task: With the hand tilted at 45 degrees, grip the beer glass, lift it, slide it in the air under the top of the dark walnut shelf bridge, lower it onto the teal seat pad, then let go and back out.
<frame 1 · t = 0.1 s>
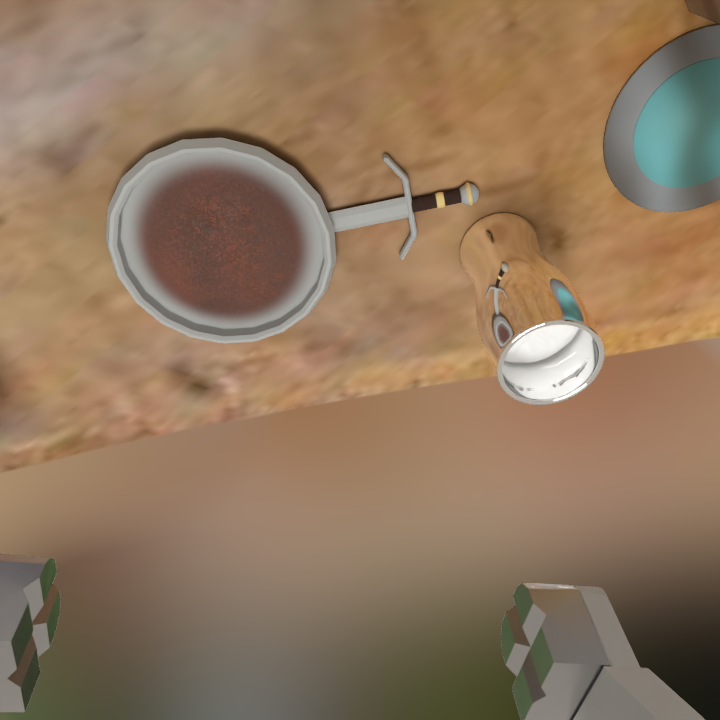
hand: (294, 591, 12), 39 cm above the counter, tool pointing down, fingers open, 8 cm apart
beer glass: (497, 246, 52), on the counter
frying pan: (294, 223, 50), on the counter
shelf bridge: (695, 125, 46), on the counter
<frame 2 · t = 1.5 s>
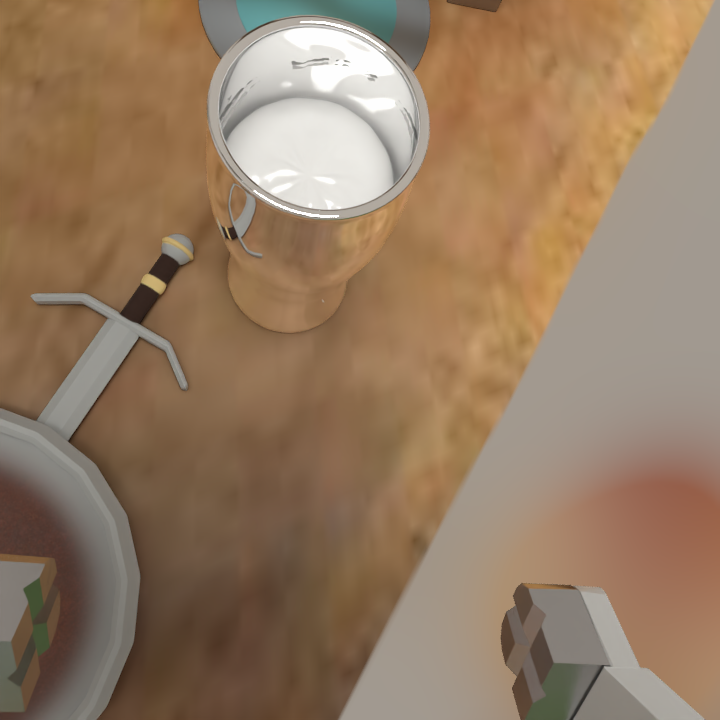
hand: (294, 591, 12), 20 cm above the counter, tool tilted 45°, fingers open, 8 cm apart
beer glass: (287, 277, 34), on the counter
frying pan: (21, 487, 30), on the counter
shelf bridge: (317, 6, 37), on the counter
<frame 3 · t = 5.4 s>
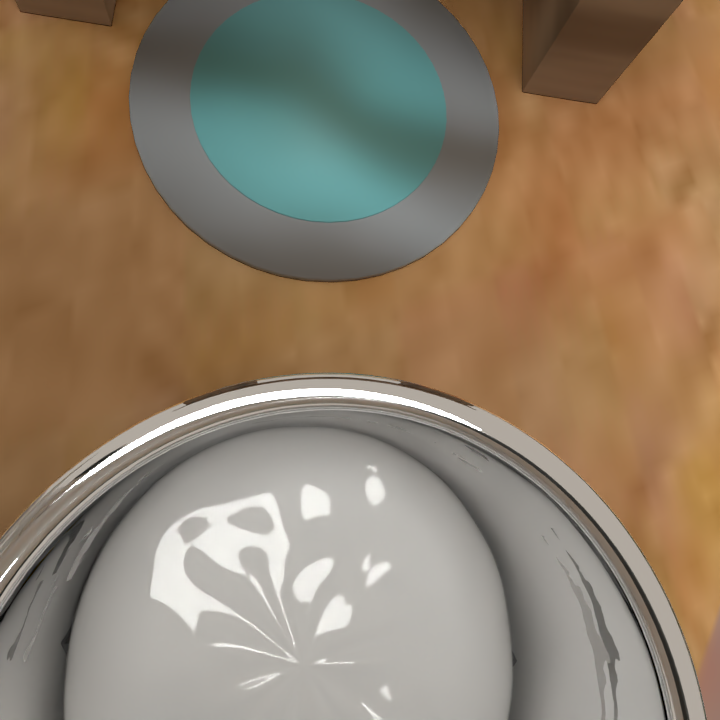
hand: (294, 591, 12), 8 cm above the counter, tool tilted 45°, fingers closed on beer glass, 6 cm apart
beer glass: (278, 578, 20), on the counter, touching gripper
shelf bridge: (321, 108, 23), on the counter
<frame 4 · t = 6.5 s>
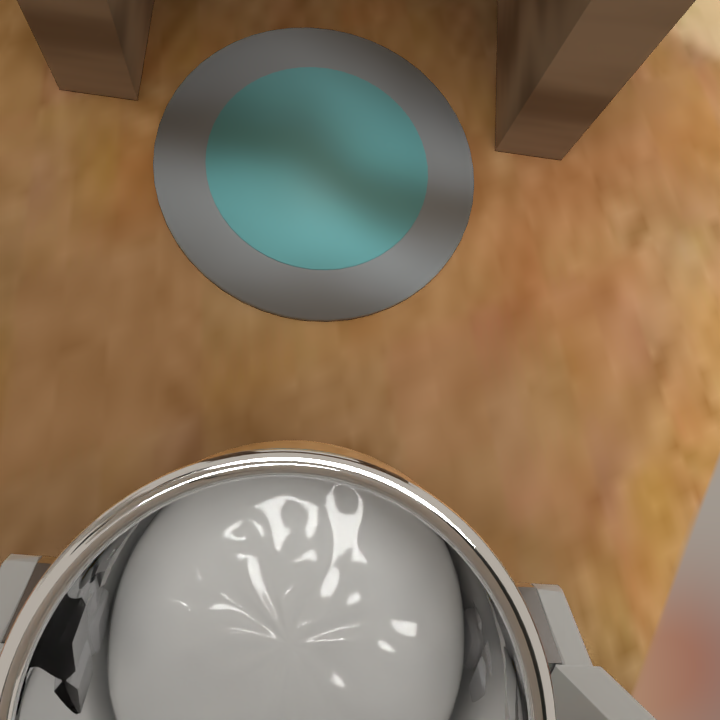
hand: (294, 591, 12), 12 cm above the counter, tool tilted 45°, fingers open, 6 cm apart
beer glass: (300, 552, 22), point 1 cm above the counter
shelf bridge: (318, 169, 27), on the counter
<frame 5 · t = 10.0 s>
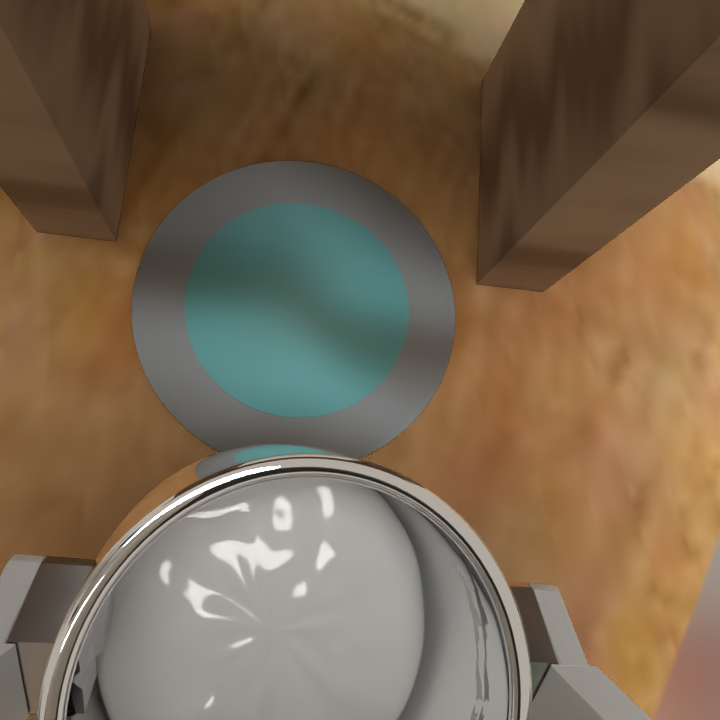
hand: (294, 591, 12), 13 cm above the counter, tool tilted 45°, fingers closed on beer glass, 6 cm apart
beer glass: (238, 548, 23), point 1 cm above the counter, touching gripper
shelf bridge: (298, 309, 27), on the counter
when the fingers open (11 cm above the counter, at t = 13.5 s): beer glass stays where it is, resting on shelf bridge.
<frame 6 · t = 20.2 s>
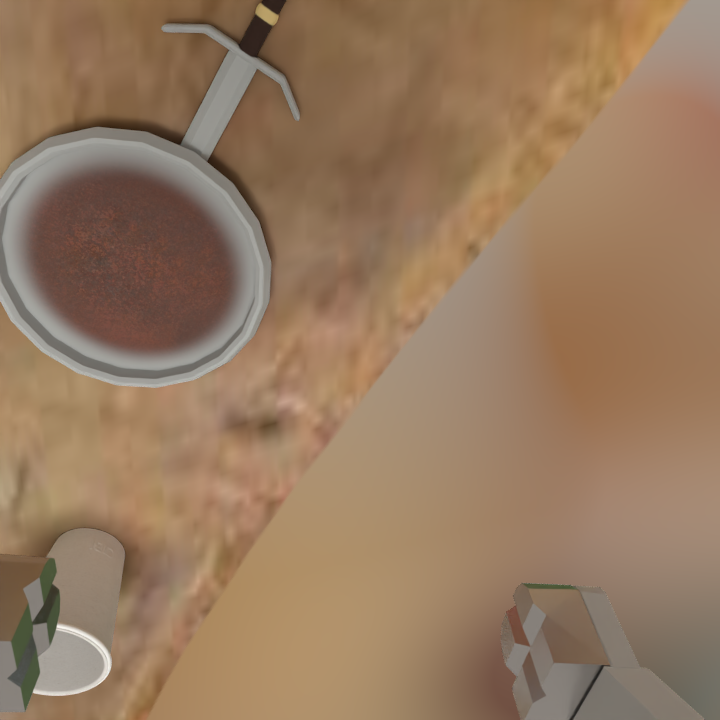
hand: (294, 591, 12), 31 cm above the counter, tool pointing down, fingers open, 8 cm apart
frying pan: (176, 186, 39), on the counter
dixie cup: (90, 550, 54), on the counter
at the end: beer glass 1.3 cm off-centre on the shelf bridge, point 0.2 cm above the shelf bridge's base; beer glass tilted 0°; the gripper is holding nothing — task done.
